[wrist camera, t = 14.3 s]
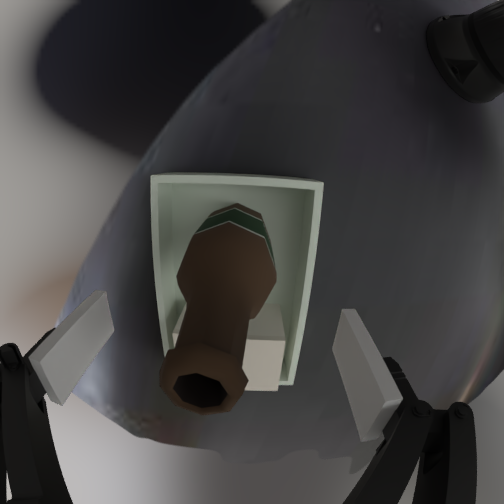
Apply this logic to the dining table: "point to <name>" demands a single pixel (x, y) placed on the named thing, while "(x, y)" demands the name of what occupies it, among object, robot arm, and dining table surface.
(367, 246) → the dining table surface
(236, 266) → the beer bottle
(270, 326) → the off-white rectangular block
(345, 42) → the dining table surface
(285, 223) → the tote
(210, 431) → the dining table surface
